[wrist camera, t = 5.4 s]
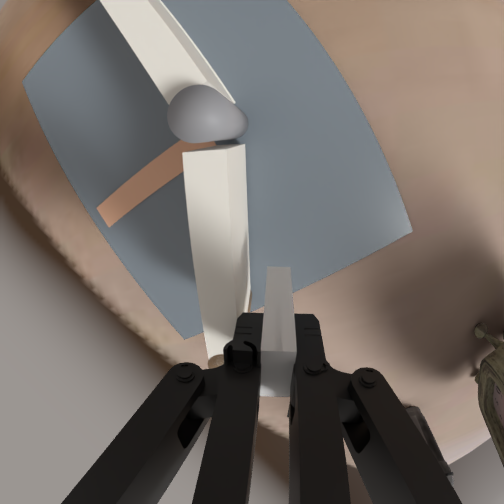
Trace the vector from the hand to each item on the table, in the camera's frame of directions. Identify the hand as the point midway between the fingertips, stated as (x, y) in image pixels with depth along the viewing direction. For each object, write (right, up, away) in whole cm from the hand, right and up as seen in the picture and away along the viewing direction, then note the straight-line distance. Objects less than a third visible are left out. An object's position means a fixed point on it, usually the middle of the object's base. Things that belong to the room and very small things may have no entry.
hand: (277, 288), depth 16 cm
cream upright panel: (-3, +3, +2) cm, 5 cm away
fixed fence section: (-6, +15, -2) cm, 17 cm away
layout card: (-6, +10, 0) cm, 12 cm away
